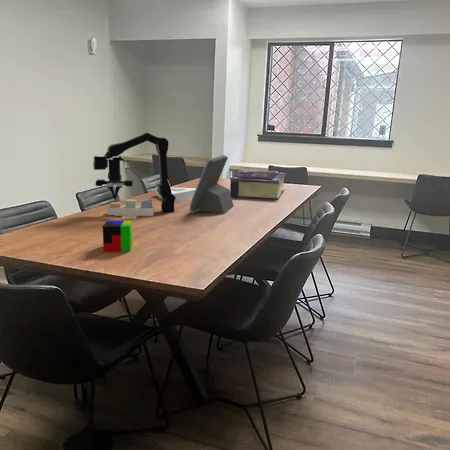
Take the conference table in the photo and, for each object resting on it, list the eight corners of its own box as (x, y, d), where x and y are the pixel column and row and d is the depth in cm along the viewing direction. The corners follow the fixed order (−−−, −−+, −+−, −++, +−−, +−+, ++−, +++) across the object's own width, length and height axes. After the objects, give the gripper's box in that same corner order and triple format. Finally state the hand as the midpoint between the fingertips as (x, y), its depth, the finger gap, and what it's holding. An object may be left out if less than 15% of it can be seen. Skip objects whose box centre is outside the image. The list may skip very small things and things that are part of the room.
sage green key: (136, 208, 248) (136, 199, 247) (135, 210, 243) (135, 201, 242) (127, 208, 248) (126, 199, 247) (125, 210, 243) (125, 201, 242)
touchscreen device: (204, 202, 285) (206, 153, 278) (235, 205, 281) (238, 155, 274) (186, 213, 252) (188, 157, 245) (221, 217, 247) (224, 160, 240)
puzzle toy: (107, 244, 188) (106, 220, 186) (132, 244, 189) (132, 220, 186) (103, 251, 178) (102, 226, 176) (130, 251, 179) (129, 226, 177)
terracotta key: (121, 211, 248) (121, 202, 247) (120, 213, 243) (119, 204, 242) (111, 211, 248) (111, 202, 247) (110, 213, 243) (110, 204, 242)
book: (227, 197, 306) (228, 176, 303) (240, 188, 349) (240, 169, 346) (278, 200, 299) (279, 179, 296) (285, 190, 342) (286, 171, 339)
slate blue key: (151, 208, 249) (151, 199, 248) (151, 210, 244) (150, 201, 243) (142, 208, 249) (142, 199, 247) (141, 210, 244) (141, 201, 243)
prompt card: (136, 216, 241) (136, 215, 241) (135, 219, 235) (135, 217, 235) (123, 216, 241) (123, 215, 240) (121, 218, 235) (121, 217, 235)
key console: (154, 213, 251) (154, 205, 250) (153, 215, 244) (153, 208, 243) (110, 212, 249) (110, 205, 248) (107, 215, 242) (107, 207, 241)
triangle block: (173, 204, 279) (173, 194, 278) (140, 199, 292) (140, 189, 291) (201, 198, 304) (202, 188, 303) (170, 193, 317) (170, 184, 316)
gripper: (134, 168, 249) (135, 197, 252) (99, 167, 247) (100, 196, 251) (132, 170, 238) (132, 200, 242) (94, 169, 237) (95, 200, 240)
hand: (115, 199), depth 244 cm, fingers closed
